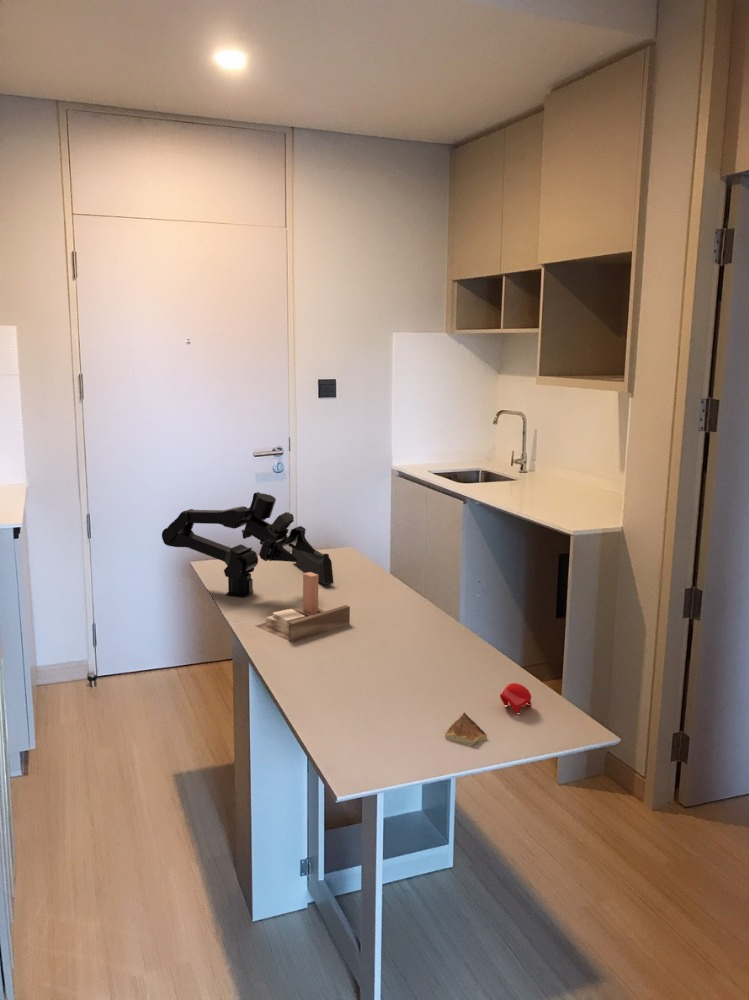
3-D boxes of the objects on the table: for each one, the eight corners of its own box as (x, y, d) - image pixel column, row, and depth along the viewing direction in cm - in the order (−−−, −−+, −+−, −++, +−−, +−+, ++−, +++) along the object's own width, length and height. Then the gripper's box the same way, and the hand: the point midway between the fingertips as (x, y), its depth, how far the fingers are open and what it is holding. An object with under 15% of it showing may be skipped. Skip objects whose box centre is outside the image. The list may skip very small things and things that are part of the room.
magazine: (337, 562, 250) (304, 515, 273) (327, 563, 248) (295, 516, 272) (330, 606, 258) (299, 558, 281) (321, 608, 256) (290, 559, 280)
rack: (255, 629, 216) (255, 608, 215) (311, 612, 230) (311, 592, 229) (292, 646, 205) (292, 623, 204) (349, 627, 219) (349, 606, 218)
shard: (463, 718, 169) (464, 710, 169) (498, 727, 166) (498, 719, 165) (443, 740, 160) (443, 732, 159) (479, 750, 156) (479, 742, 156)
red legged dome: (513, 706, 167) (535, 689, 168) (495, 688, 171) (516, 671, 172) (518, 724, 173) (539, 707, 174) (500, 706, 177) (521, 689, 178)
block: (302, 618, 222) (303, 573, 220) (309, 616, 224) (310, 571, 221) (311, 621, 220) (311, 576, 217) (318, 619, 222) (318, 574, 219)
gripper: (252, 515, 227) (295, 540, 221) (289, 501, 243) (330, 525, 237) (242, 548, 231) (284, 574, 225) (279, 533, 247) (320, 556, 241)
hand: (305, 556), depth 232 cm, fingers open, 9 cm apart
